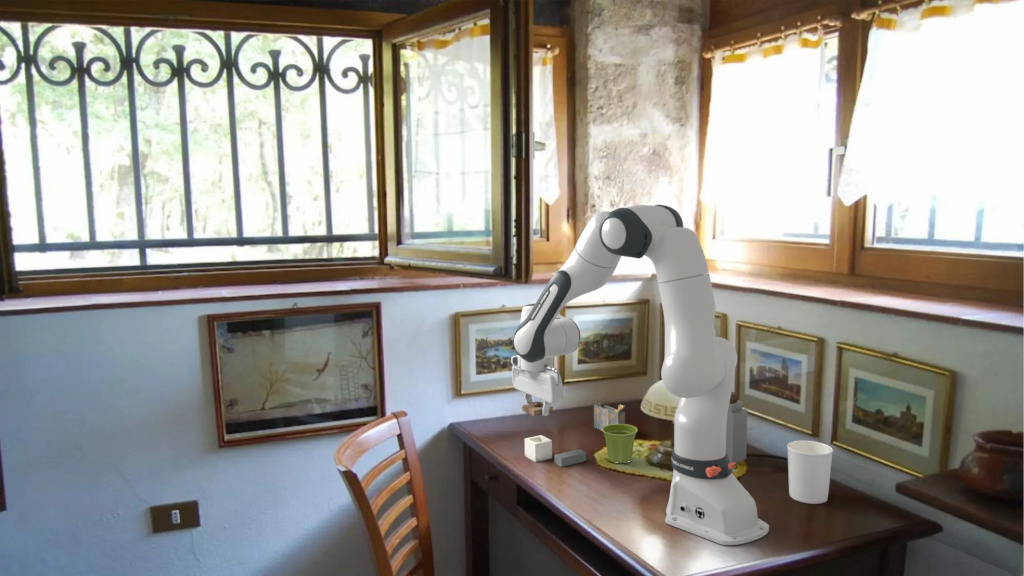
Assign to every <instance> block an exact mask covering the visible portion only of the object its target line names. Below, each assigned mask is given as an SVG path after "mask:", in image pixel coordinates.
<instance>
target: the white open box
mask: <svg viewBox="0 0 1024 576" xmlns="http://www.w3.org/2000/svg"><path fill="white" fill-rule="evenodd" d="M524 457H525V458H527V459H529V460H531V461H533V462H534V463H537V462H541V461H546V460H551V459H553V440H552V439H550V438H548V437H546V436H544V435H542V434H540V435H536V436H535V435H534V436H532V437H527V438H524Z"/></svg>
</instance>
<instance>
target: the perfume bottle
mask: <svg viewBox="0 0 1024 576" xmlns="http://www.w3.org/2000/svg"><path fill="white" fill-rule="evenodd" d="M738 396H739V393H738V392H734V391H731V397H730V402H729V407H728V413H727V425H726V453H727V454H728V457H729V461H730V463H733V462H736V464H738V463H740V462H742V461H744V460H746V459H747V448H748V447H747V444H748V441H747V440H748V439H747V438H748V409H747V408H746V409H745V408H743V405H744V401H743V400H739V399H738Z"/></svg>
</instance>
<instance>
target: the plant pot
mask: <svg viewBox="0 0 1024 576" xmlns="http://www.w3.org/2000/svg"><path fill="white" fill-rule="evenodd" d="M602 433H603V436H604V438H605V444H606V445H605V446H606V450H607V451H606V452H607V457H608V458H607V459H608V460H609V462H610V461H612V462H618V463H620V464H623V463H624V462H628V461H630V462H632V457H633V451H634V444H635V438H636V435H637V433H638V428H637V427H636V426H634V425H632V424H627V423H625V424H611V425H606V426H604V427H603V428H602ZM612 462H611V463H612ZM628 463H629V462H628ZM624 464H625V463H624Z"/></svg>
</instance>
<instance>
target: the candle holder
mask: <svg viewBox="0 0 1024 576" xmlns="http://www.w3.org/2000/svg"><path fill="white" fill-rule="evenodd" d="M786 448H787V449H786V450H787V469H788V471H787V473H788V493H789V497H790V498H791V499H793V500H795V501H796V502H800V503H804V504H810V505H818V504H823V503H826V502H827V501H828V498H829V491H830V482H831V470H832V462H833V460H832V459H833V454H834V449H833V448H832V446H830V445H828V444H826V443H822V442H819V441H816V440H815V441H814V440H805V439H804V440H794V441H790V442H788V443H787V445H786Z"/></svg>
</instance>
